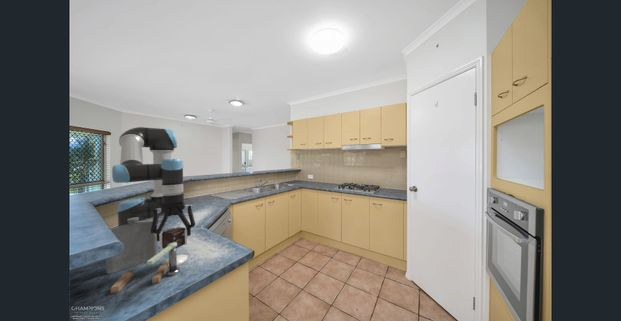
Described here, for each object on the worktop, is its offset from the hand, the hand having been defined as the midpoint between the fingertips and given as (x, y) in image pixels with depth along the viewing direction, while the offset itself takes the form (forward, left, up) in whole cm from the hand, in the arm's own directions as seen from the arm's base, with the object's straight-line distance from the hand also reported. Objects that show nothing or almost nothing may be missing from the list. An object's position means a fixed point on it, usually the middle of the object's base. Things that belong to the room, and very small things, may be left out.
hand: (174, 245), depth 79 cm
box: (0, 0, -1) cm, 1 cm away
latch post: (+9, +1, -7) cm, 12 cm away
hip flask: (-6, -16, -8) cm, 19 cm away
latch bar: (+14, 0, +3) cm, 14 cm away
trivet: (0, 0, -7) cm, 7 cm away
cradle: (+9, -8, -7) cm, 14 cm away
